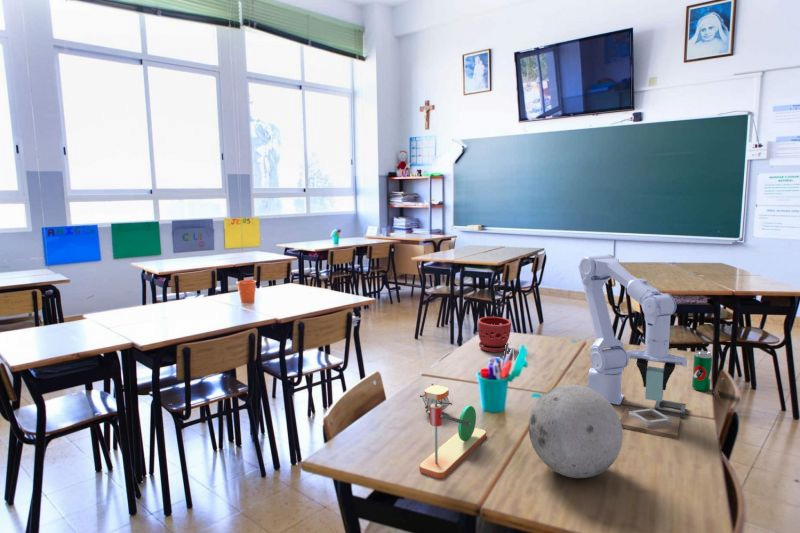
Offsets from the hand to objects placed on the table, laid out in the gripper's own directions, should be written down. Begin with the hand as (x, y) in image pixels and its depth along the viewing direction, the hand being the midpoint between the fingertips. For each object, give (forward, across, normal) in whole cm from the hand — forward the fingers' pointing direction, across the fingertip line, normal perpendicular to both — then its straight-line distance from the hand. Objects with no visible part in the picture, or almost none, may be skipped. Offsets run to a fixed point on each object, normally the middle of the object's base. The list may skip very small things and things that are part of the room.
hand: (654, 387), depth 142 cm
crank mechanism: (+10, -40, -41) cm, 59 cm away
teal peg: (+3, 0, 0) cm, 3 cm away
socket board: (+10, -1, -2) cm, 10 cm away
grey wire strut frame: (+10, -55, -23) cm, 60 cm away
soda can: (+10, +11, +33) cm, 36 cm away
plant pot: (+10, -62, +43) cm, 76 cm away
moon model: (+10, -13, -37) cm, 40 cm away
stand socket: (+10, +4, +10) cm, 15 cm away
